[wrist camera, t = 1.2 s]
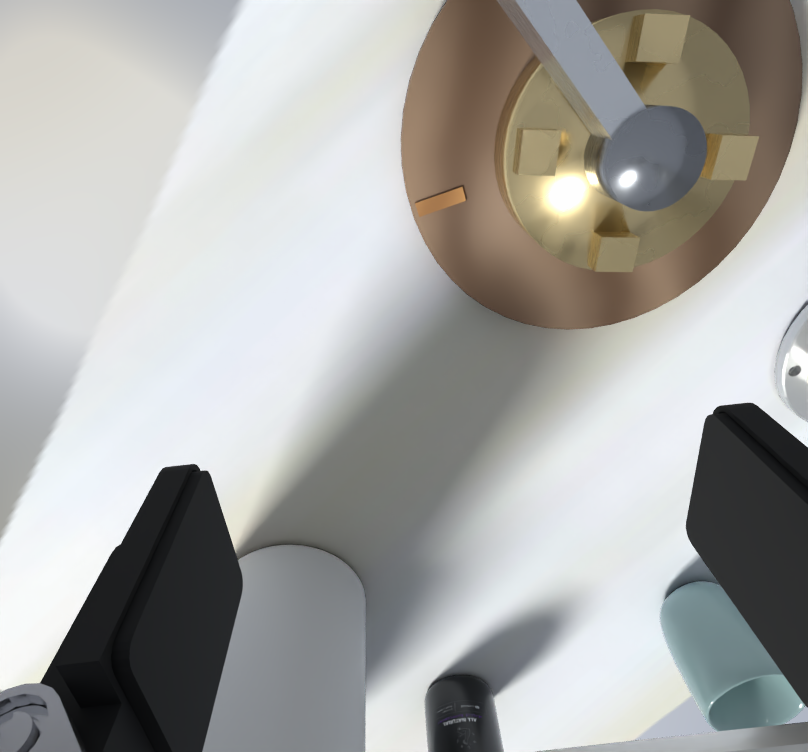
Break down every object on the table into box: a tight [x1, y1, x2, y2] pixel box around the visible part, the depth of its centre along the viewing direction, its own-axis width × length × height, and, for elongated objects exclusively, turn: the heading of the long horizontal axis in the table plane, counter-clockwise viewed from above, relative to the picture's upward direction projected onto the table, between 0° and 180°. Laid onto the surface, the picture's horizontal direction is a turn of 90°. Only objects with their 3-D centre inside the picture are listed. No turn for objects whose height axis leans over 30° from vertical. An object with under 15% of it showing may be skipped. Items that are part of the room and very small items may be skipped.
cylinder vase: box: [202, 545, 366, 752], centre depth 37 cm, size 12×12×25 cm
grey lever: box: [494, 0, 759, 272], centre depth 26 cm, size 20×12×7 cm, turn 43°
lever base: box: [401, 0, 802, 329], centre depth 32 cm, size 22×22×2 cm
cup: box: [660, 581, 805, 731], centre depth 47 cm, size 8×8×10 cm
